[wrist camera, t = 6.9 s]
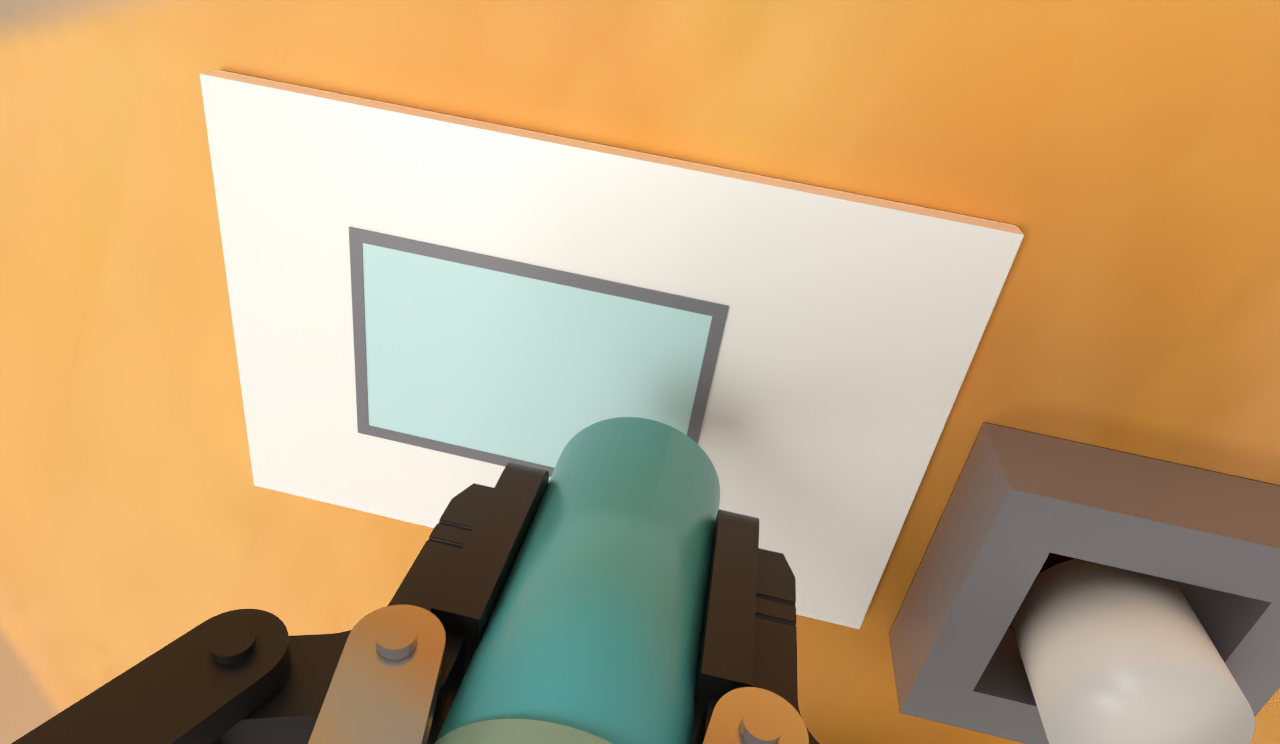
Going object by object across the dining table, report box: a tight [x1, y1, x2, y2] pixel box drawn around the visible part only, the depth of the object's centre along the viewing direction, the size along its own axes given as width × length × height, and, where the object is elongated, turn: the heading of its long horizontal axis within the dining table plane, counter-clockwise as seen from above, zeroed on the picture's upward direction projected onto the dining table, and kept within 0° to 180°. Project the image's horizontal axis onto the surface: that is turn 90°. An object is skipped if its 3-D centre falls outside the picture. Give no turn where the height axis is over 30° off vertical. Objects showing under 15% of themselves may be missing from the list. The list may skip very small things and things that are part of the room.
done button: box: [1011, 559, 1255, 744], centre depth 16 cm, size 4×4×3 cm
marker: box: [435, 417, 720, 744], centre depth 11 cm, size 3×3×8 cm
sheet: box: [200, 70, 1024, 629], centre depth 18 cm, size 17×11×1 cm, turn 82°
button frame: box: [889, 423, 1280, 744], centre depth 18 cm, size 7×7×2 cm
